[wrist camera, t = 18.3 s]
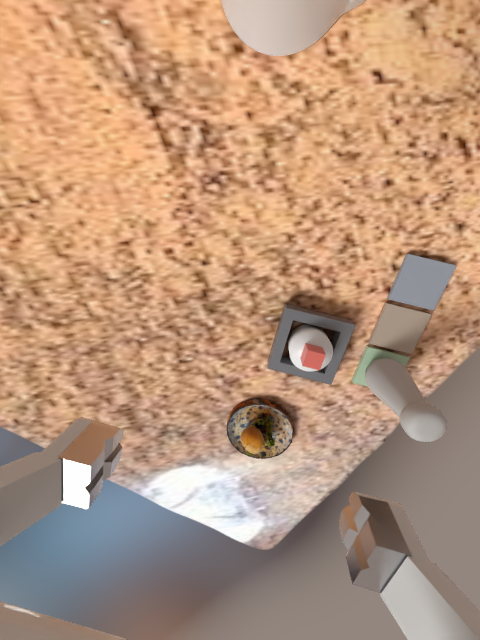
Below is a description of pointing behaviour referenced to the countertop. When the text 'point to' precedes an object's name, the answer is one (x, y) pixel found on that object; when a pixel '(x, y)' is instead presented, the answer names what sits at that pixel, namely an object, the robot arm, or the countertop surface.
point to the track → (406, 311)
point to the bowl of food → (259, 428)
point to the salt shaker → (405, 399)
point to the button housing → (316, 318)
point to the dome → (309, 348)
